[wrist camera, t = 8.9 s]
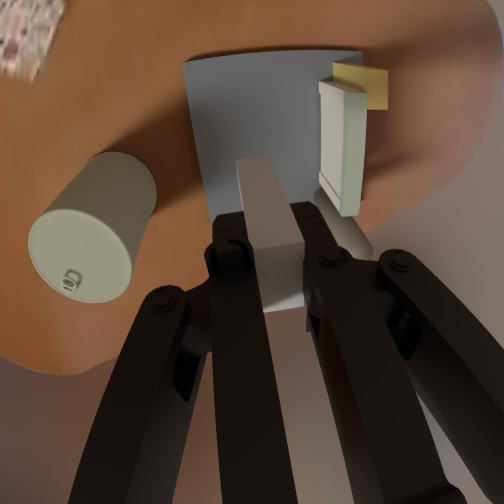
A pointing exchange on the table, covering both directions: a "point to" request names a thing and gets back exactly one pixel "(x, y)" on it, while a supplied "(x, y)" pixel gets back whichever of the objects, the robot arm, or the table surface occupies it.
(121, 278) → the can
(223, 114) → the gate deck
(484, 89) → the table surface
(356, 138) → the white framed panel
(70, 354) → the table surface
